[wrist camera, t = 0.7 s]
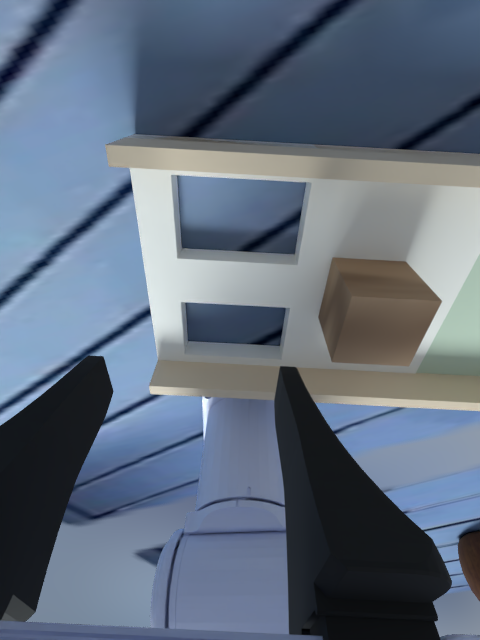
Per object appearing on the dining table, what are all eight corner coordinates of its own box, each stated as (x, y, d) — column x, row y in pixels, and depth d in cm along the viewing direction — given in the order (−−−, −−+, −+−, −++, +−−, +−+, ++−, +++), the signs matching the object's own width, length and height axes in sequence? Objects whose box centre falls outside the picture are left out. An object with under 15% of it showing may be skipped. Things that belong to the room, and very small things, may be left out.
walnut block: (382, 320, 20) (409, 366, 17) (318, 317, 20) (331, 362, 17) (405, 261, 18) (442, 300, 14) (332, 257, 18) (351, 296, 14)
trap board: (516, 373, 25) (556, 414, 22) (163, 354, 25) (150, 393, 21) (683, 165, 16) (793, 184, 13) (134, 134, 16) (105, 144, 13)
